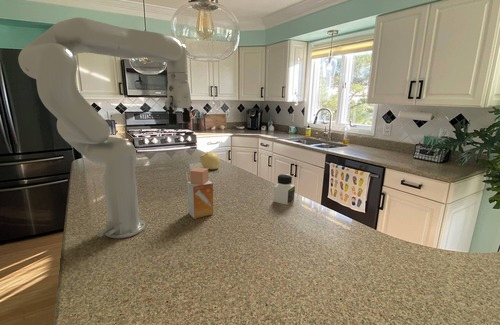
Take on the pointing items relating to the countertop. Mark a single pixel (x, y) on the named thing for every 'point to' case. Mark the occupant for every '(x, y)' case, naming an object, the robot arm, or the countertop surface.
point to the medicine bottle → (284, 190)
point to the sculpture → (210, 160)
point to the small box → (200, 199)
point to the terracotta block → (199, 176)
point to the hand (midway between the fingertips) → (180, 122)
